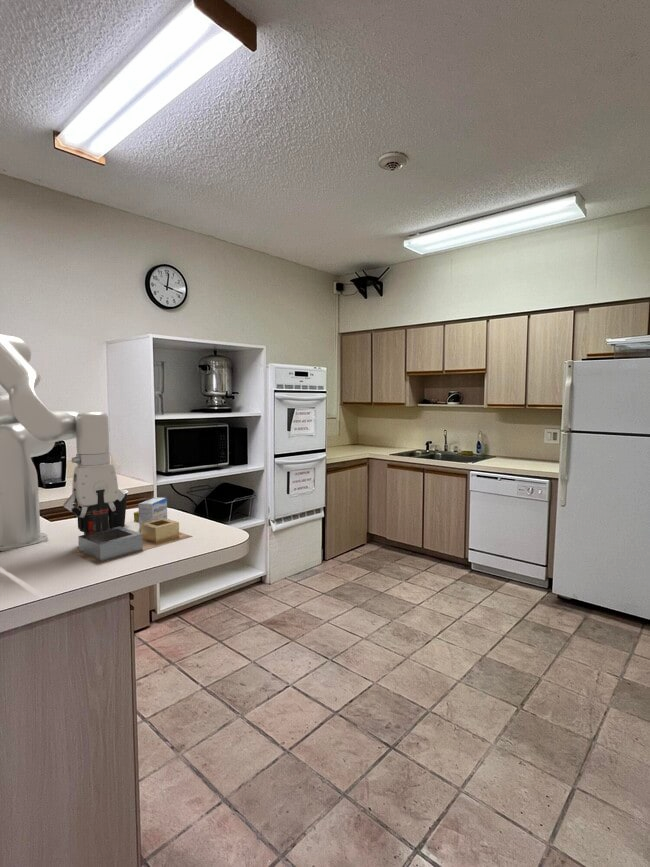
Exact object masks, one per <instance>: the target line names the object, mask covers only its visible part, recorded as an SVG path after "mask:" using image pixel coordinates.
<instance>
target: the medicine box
mask: <svg viewBox="0 0 650 867" xmlns="http://www.w3.org/2000/svg"><path fill="white" fill-rule="evenodd" d="M137 506H138V511H139V522H138V525H139V530H140V531H141V523H145V522H149V521H153V520H157V519H161V518H166V519H168V498H166V497H152V498H149V499H148V500H147V499H146V500H145V501H143V502H139V503H138V505H137Z"/></svg>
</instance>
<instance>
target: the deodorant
mask: <svg viewBox="0 0 650 867" xmlns="http://www.w3.org/2000/svg"><path fill="white" fill-rule="evenodd" d="M104 492H105V489H103V490H97V491H96V493H98V503H97V504H96V505H94V506H88V508H87V511H86V514H85V517H87V519H88V532H86V533H84V532H83V535H86V534H90V533H94V532H98V531H103V530H107V529H109V509H108V503H104V494H105V493H104ZM96 495H97V494H96Z"/></svg>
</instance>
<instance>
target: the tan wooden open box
mask: <svg viewBox="0 0 650 867" xmlns="http://www.w3.org/2000/svg"><path fill="white" fill-rule="evenodd" d="M179 532H180V522H179V521H177V520H172V519H169V518H167V519H166V518H161V519H157V520H153V521H149V522H145V523H141V530H140V533H141V534H142V539H145V540H148V541H150V542H153V543H159V542H163V541H166V540H170V539H173V538H177V537H179Z"/></svg>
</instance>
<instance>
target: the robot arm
mask: <svg viewBox="0 0 650 867" xmlns="http://www.w3.org/2000/svg"><path fill="white" fill-rule="evenodd" d="M31 359H32V351H31V349H30V346H29V344H28V343H27V342H26V341H24V340H23V339H21V338H20V337H18V336H13V335H11V334H10V335H8V334H2V333H0V386H1V388H3V390H5V392H1V391H0V552H8V551H9V552H10V551H12V550H13V551H14V550H17V549H20V548H25V547H30V546H34V545H37V544H38V545H39V544H42V543H46V542H47V541H48V539H49V538H48V534H46V533H44V532H41V519H40V518H41V517H40V516H41V515H40V499H39V498H40V495H39V494H40V493H39V479H38V472H37V469H36V466H35V464H34V462H33V461H32V458H34V457H39V456H43V455H45V454H49V452H50V451H51V450H53V448H54V447H55V444H56V442H60V441H67V440H75V439H76V440H75V441H76V455H75V456H74V457H71V462H72V464H76V466H75V465H74V466H75V467H74V471H73V474H72V475H73V476H72V486H71V489H72V490H71V492H72V493H71V494H70V496H69V497H68V498H67V499H66V501H65V502H64V503H63V506H62V507H64V508H65V509H66V510H68V511H69V512H71V514H74V515H75V516H76V518H77V529H79V532H82V533H83V534H84V533H86V532H88V519H87V517H85V514H86V511H87V508H88V506H94V505H96V504H97V503H98V493H96V491H97V490H103V489H105V492H104V493H105V494H104V503H108V509H109V526H110V527H112V526H113V522H114V511H115V510H116V507H117V506H118V504H119V503H120V501H121V500H122V499H123V498H124V496H125V494H124V493H122V492H121V491H120V490H119V489H120V488H119V484H118V479H117V473H116V468H115V465H114V463H113V462H112V463H111V453H110V432H109V431H110V430H109V427H110V426H109V416H108V414H107V413H106V412H105V411H77V410H50V409H49V408H48V407H47V406H46V405H45V404H44V402H42V401H41V400H40V398H39V397H38V395H37V392H35V389H36V388H37V387H38V385H39V383H40V382H41V374H40V373H39V372H38V371H37V370H36V368H34V366H33V365H32V364H31V363H30V361H31ZM96 494H97V495H96ZM74 505H77V506H74Z"/></svg>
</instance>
